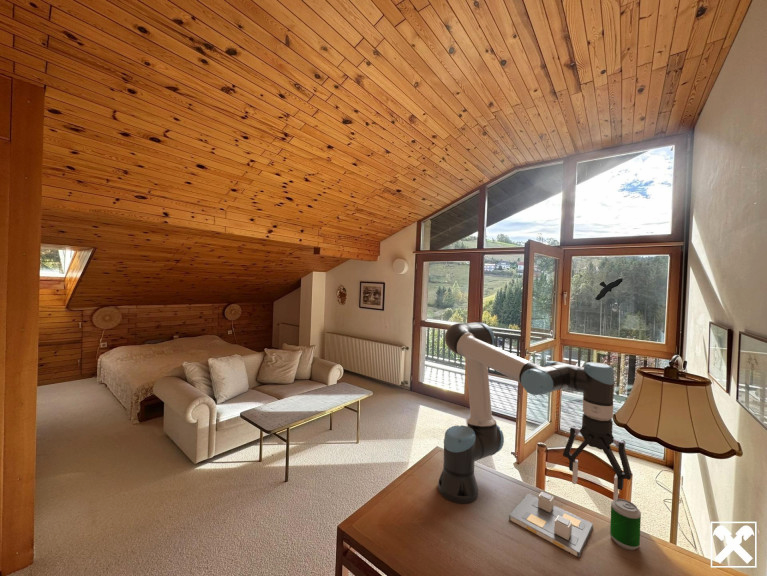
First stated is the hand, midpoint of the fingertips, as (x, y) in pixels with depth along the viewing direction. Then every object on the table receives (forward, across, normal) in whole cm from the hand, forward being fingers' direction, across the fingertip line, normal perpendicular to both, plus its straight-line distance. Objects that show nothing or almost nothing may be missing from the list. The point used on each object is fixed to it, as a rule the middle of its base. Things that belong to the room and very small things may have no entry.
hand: (594, 490), depth 96 cm
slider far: (+18, -16, +9) cm, 26 cm away
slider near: (+18, -8, 0) cm, 19 cm away
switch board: (+20, -13, +4) cm, 24 cm away
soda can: (+20, +6, +13) cm, 25 cm away
